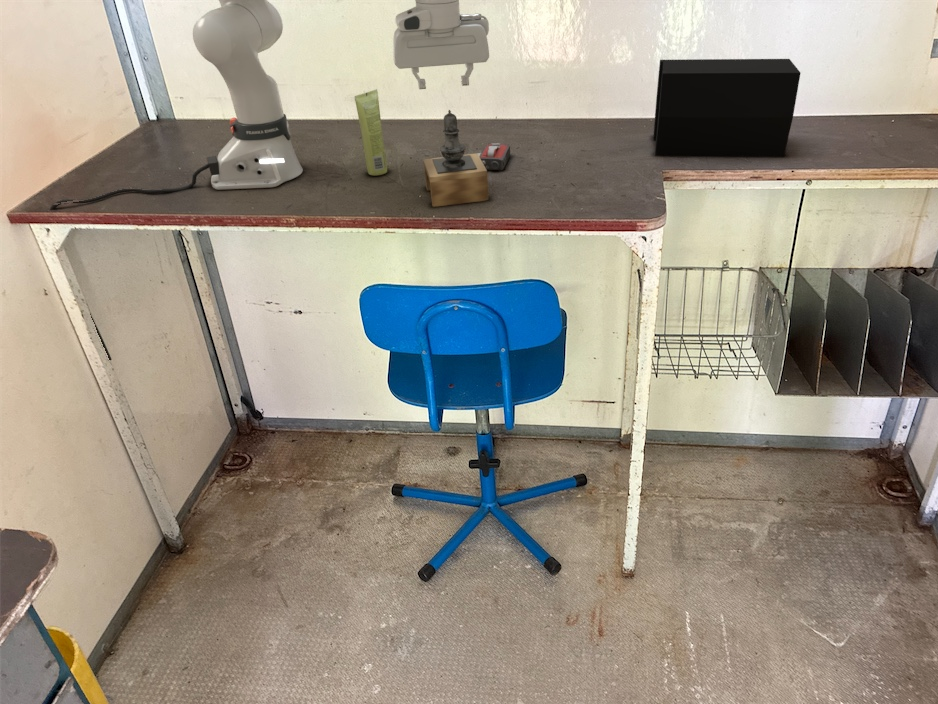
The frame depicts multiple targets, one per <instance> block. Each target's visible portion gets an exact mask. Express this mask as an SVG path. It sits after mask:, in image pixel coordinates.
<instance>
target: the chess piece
mask: <svg viewBox="0 0 938 704" xmlns="http://www.w3.org/2000/svg"><path fill="white" fill-rule="evenodd" d="M447 112H448V113H447V114H444V116H443V126H444V127H443V128H444V129H443V130H442V133H443V134H444V145H442V146H440V147H439V151H440V152H441V156H442V157H444V158H445V159H446V160H445V161H444V162H443V163H442V165H443V166H445V167H449V168H455V167H460V166H463V165H464V164H465V161H464V160H462V159H461V158H462V157H463V155H465V150H466V145H464V144H461V142H460V139H459V132H460V129H459V128H458V120H457V119H458V118H457V115H455V114H454V113H452V111H451V109H448V111H447Z"/></svg>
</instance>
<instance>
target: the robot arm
mask: <svg viewBox="0 0 938 704" xmlns="http://www.w3.org/2000/svg"><path fill="white" fill-rule="evenodd" d="M218 2H219V4H220V7H217V8H214V9H211V10H209V11H207V12H206V13H204V14H203V15H202V16H201V17H200V18H199V19H198V20H196V21H195V23H194V25H193V28H192V40H193V43H194V46H195V48H196V49H197V51H198V53H199V54H200V55H201V57H203V58H204V59H205V60H206V61H208V62H209V63H210V64H212V65H213V66H214V67H215V68H216V70H217V71H218V72H219V74H220V75H221V77H222V79H223V80H224V83H225V85H226V87H227V89H228V93H229V95H230V98H231V102H232V105H233V109H234V113H235V116H236V117H231V118H230V120H229V127H230V131H231V135H232V136H233V137H232V138H230V140H229V141H228V142H227V143H226V144H225V145H224V146H223V147H222V148H221V150H220V151H218V155H212V156H207V157H206V161H207V164H205V165H203V166H201V167H199V168H198V169H196V170H195V171H194V172H193V174H192V177H191V182H190V183H189V184H188V185H185V186H183V187H179V188H161V189H162V190H154V189H151V190H142V189H143V188H141V189H124V188H121V189H122V190H119V189H116V190H117V191H114V190H113V191H114V192H111V191H109V192H110V193H108V192H107V193H108V194H105V193H104V194H105V195H103V194H101V195H102V196H100V195H98V196H99V197H97V196H95V197H96V198H93V197H91V198H92V199H89V198H87V199H88V200H84V201H79V202H73V203H72V204H89V203H92V202H93V203H94V202H96V201H100V200H103V199H106V198H108V197H111V196H114V195H118V194H123V193H129V192H132V193H133V192H137V193H145V194H163V193H164V194H165V193H167V194H168V193H169V194H170V193H177V192H181V191H185V190H189V189H192V188H193V187H194V186H195V185H196V183H197V177H198V175H199V174H200V173H202V172H204V171H205V170H208V169H209V172H210V175H211V177H210V178H211V179H210V183H211V184H210V185H211V187H212V188H213V189H215V190H219V191H220V190H221V191H222V190H240V189H241V190H243V189H264V188H265V189H266V188H276V187H278V186H280V185H281V184H283V183H286V182H288V181H291V180H294V179H295V178H298V177H299V176H301V174H303V172H304V169H303V167H302V165H301V163H300V161H299V159H298V157H297V155H296V151H295V150H294V146H293V144H292V140H291V138H292V137H291V136H292V135H291V129H290V125H289V121H288V118H287V115H286V114H285V113H284V110H283V104H282V101H281V95H280V90H279V87H278V83H277V81H276V80H275V79H274V77H272V76H271V75H269V74H267V73H266V71H265V69H264V67H263V66H262V63H261V61H260V58H259V53H261V52H264V51H267V50H268V49H270V48H271V47H272V46H274V44H275V43H277V42H278V40H279V39H280V38H281V36H282V34H283V30H284V29H283V28H284V25H283V19H282V17H281V14H280V12H279V11H278V9H277V8H276V7H275V6H274V5H273V4H272V3H271V2H270V1H269V0H218ZM460 11H461V10H460V0H415V6H414V7H412V8H409V9H407V10H404V11H402V12H400V13H398V14H396V15H395V26H396V27H397V28H396V29H395V31H394V32H393V38H392V54H393V55H392V56H393V57H392V58H393V63H394V66H395V67H396V68H397V69H400V70H402V69H410V70H411V73H412V74H413V76H414V77H415V79H416V81H417V86H418V90H426V89H427V86H426V84H427V82H426V79H425V78H421V77H420V75H419V73H420V68H429V67H430V68H431V67H441V66H454V65H456V66H457V65H465V68H466V70H465V72H464V75H460V83H461V86H462V87H467V86H470V77H471V76H472V75H471V74H472V73H473V70H474V64H479V63H487V62H488V61H489V59H490V50H489V41H488V37H487V36H488V35H489V31H490V25H489V20H488V17H486V16H484V15H482V14H481V13H473V14H468V13H465V14H461V12H460ZM73 200H75V199H70V198H69V199H66V198H65V199H60V200H57V201H55V202H54V203H61V202H67V201H73ZM60 205H61V204H58V205H53V204H51V206H50V207H49V211H54V210H55V209H56V208H57V207H59V206H60ZM90 315H91V318H92V320H93V322H94V324H95V327H96V330H97V333H98V335H99V337H100V339H101V342H102V344H103V347H104V348H105V351H106V353H107V355H108V358H109V360H110V361H112V357H111V354H110V352H109V349H108V348H107V347H108V346H107V345H106V343H105V341H104V339H103V337H102V334H101V332H100V330H99V328H98V326H97V324H96V322H95V320H94V318H93V315H92V314H91V313H90ZM103 347H102V348H103ZM109 360H108V361H109Z"/></svg>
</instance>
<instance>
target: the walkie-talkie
mask: <svg viewBox="0 0 938 704" xmlns="http://www.w3.org/2000/svg"><path fill="white" fill-rule="evenodd" d="M477 154H478V155H479V157H480V159H481V161H482V163H483V164H484V166H485V168H486V170H487V171H503V170H504V169H505V167H506V164H507V163H508V161H509V158H510V157H511V146H510V145H509V144H508V143H494V142H492V143H490V142H489V143H488V144H486V145H485V146H484V148H483V150H482V151H481V152H477Z"/></svg>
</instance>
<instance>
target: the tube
mask: <svg viewBox="0 0 938 704" xmlns="http://www.w3.org/2000/svg"><path fill="white" fill-rule="evenodd" d="M379 100H380V99H379V92H378V89H377V88H375V89H372V90H370V91H366V92H363V93H360V94H356V95H354V102H355V105H356V106H355V107H356V112H357V118H358V122H359V127H360V134H361V139H362V147H363V151H364V158H365V164H366V169H367V174H368V175H370V176H383V175H385V174H386V173H388V165H387V158H386V151H385V143H384V135H383V126H382V120H381V119H382V118H381V111H380V101H379Z"/></svg>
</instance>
